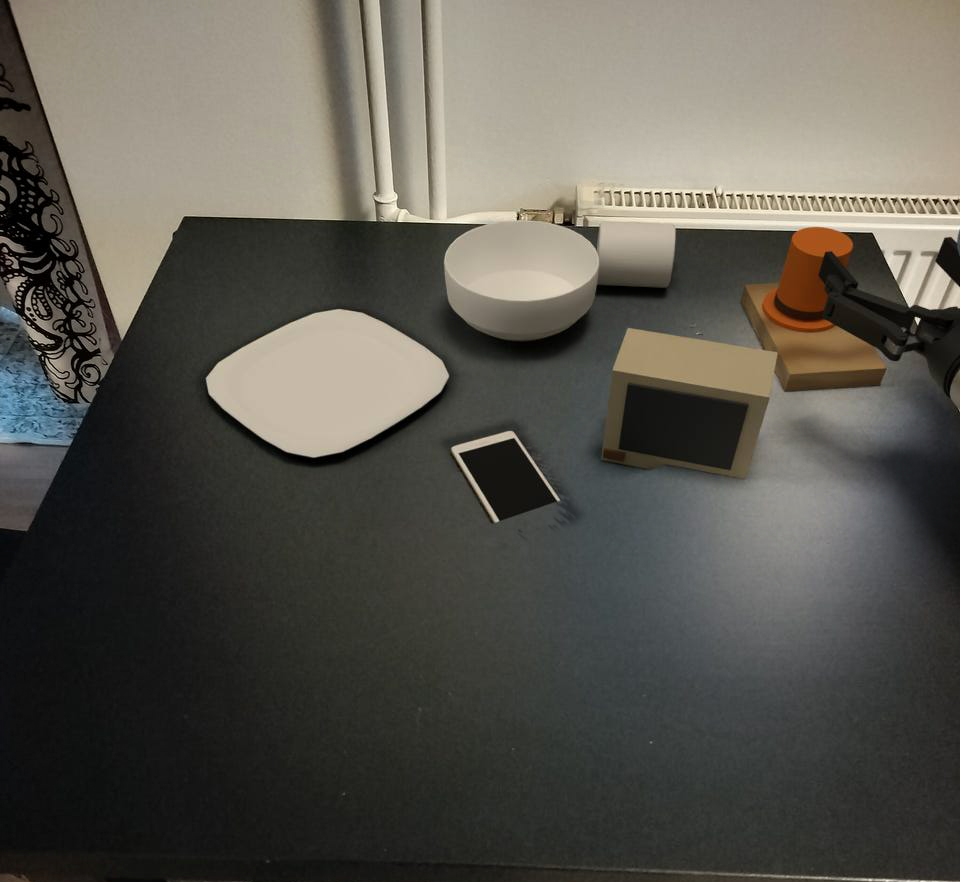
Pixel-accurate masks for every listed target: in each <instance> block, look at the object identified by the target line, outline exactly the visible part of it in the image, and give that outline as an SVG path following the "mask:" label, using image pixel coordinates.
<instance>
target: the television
mask: <svg viewBox="0 0 960 882" xmlns="http://www.w3.org/2000/svg"><path fill="white" fill-rule="evenodd" d="M777 354H778V352H773V351H767V350H764V349H760V348H753V347H749V346H748V347H747V346H741V345H735V344H729V343H724V342H717V341H711V340H704V339H699V338H693V337H687V336H680V335H673V334H668V333H661V332H655V331H649V330H644V329H643V330H642V329H637V328H631V327H627V329H626V332H625V334H624V337H623V340H622V343H621V346H620V348H619V351H618V353H617V356H616V359H615V362H614V364H613V368H612V369H611V377H610V378H611V379H610V386H609V395H608V402H607V409H606V416H605V417H606V418H605V425H604V426H605V427H604V435H603V440H602V441H603V443H602V450H601V458H600V460H601V461H603V462H604V461H605V462H610V463H615V464H619V465H625V466H631V467H635V468H641V469H645V470H653V469H656V468H660V467H663V466H665V465H669V466H675V467H679V468H685V469H691V470H695V471H700V472H706V473H712V474H716V475H722V476H725V477H731V478H737V479H743V480H746V478H747V476H748V472H749V469H750V466H751V462H752V458H753V455H754V451H755V450H756V449H755V448H756V445H757V442H758V439H759V435H760V432H761V429H762V425H763V421H764V419H765V415H766V412H767V408H768V405H769V403H770V402H769V401H770V398H771V395H772V394H771V393H772V388H773V382H774V376H775V366H776V360H777Z"/></svg>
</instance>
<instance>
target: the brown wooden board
mask: <svg viewBox="0 0 960 882" xmlns="http://www.w3.org/2000/svg"><path fill="white" fill-rule="evenodd" d="M779 283H780V282H773V283H770V282H769V283H753V284H744V286H743V289H742V294H741V298H740V304H741V306H742V307H743V310H744V311H745V314H746V317H748V319H749V322H750V324H751V326H752V328H753V330H754V332H755V334H756V336H757V338H758V340H759V342H760V344H761V346H762V348H763V350H767V351H773V352H778V354H777V360H776V366H775V371H774V373H775V374H776V376H777V378H778V380H779V383H780V384H781V386H782V389H783V390H784V392H794V391H809V390H810V391H811V390H825V389H840V388H853V387H854V388H855V387H869V386H870V387H871V386H880V385H881V384H882V381H883V379H884V376H885V374H886V372H887V369H888V366H886V364H885V362H884V360H883V359H882V358H881V356H880V354H879V353H878V351H877V350H876V348H875V347H874V346H872V345H870V344H868V343H866V342H865V341H863V340H861V339H859V338H857V337H856V336H854V335H852V334H850V333H849V332H847V331H845V330H843V329H841V328H840V327H838V326H834V327H832V328H830V329H828V330H825V331H820V332H799V331H794V330H790V329H786V328H784V327H781V326H779V325H777V324H775V323H774V322H772V321H771V320H770V319H769V318H768V317H767V316H766V315H765V314H764V312H763V308H762V304H763V300H764V298H765V296H766V295H767V294H768V293H769V292H770V291H772V290H774V289H776V288H778V287H779Z"/></svg>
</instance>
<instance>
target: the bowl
mask: <svg viewBox="0 0 960 882" xmlns="http://www.w3.org/2000/svg"><path fill="white" fill-rule="evenodd" d="M443 267H444V280H445V289H446V295H447V301H448V303H449V305H450V307H451V308H452V310H453V311H454V312H455V313H456V314H457V315H458V316H459V317H461V318H462V320H464V322H465V323H466V324H467V325H469V326H470V327H472V328H473V329H475V330H476V331H479V332H481V333H484V334H485V335H487V336H491V337H493V338H497V339H500V340H505V341H511V342H530V341H536V340H541V339H545V338H548V337H552V336H554V335H557V334H559V333H561V332H563V331H566V330H567V329H569V328H570V327H572V326H573V325H574V324H575V323H577V321H578V320H580V319H581V318H582V317H584V315H585V314H587V313H588V311H589V310H590V309H591V307H592V305H593V303H594V300H595V296H596V292H597V286H598V285H597V280H598V272H599V256H598V254H597V248H595V246H594V244H592V243H591V241H589V239H587V238H586V237H584V236H583V235H582V234H580V233H578V232H576V231H575V230H572V229H570V228H568V227H565V226H562V225H559V224H556V223H550V222H545V221H538V220H526V219H525V220H522V219H516V220H515V219H514V220H503V221H497V222H492V223H491V222H490V223H488V224H483V225H481V226H477V227H474V228H472V229H470V230H467V231H466V232H464V233H462V234H461V235H460V236H458V237H457V238H456V239H454V241H453V242H452V243H451V244H450V245H448V248H447V250H446V251H445V254H444V259H443Z"/></svg>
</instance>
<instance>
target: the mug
mask: <svg viewBox="0 0 960 882" xmlns="http://www.w3.org/2000/svg"><path fill="white" fill-rule="evenodd" d="M676 236H677V231H676V225H675V224H674V223H661V222H659V223H658V222H640V221H612V220H611V221H607V220H600V222H599V226H598V235H597V244H596V251H597V254H598V256H599V272H598V280H597V286H613V287H614V286H618V287H639V288H640V287H641V288H642V287H643V288H658V289H659V288H661V289H666V288H668V287H669V285H670V282H671V279H672V275H673V274H672V273H673V267H674V260H675V259H674V258H675V251H676Z"/></svg>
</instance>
